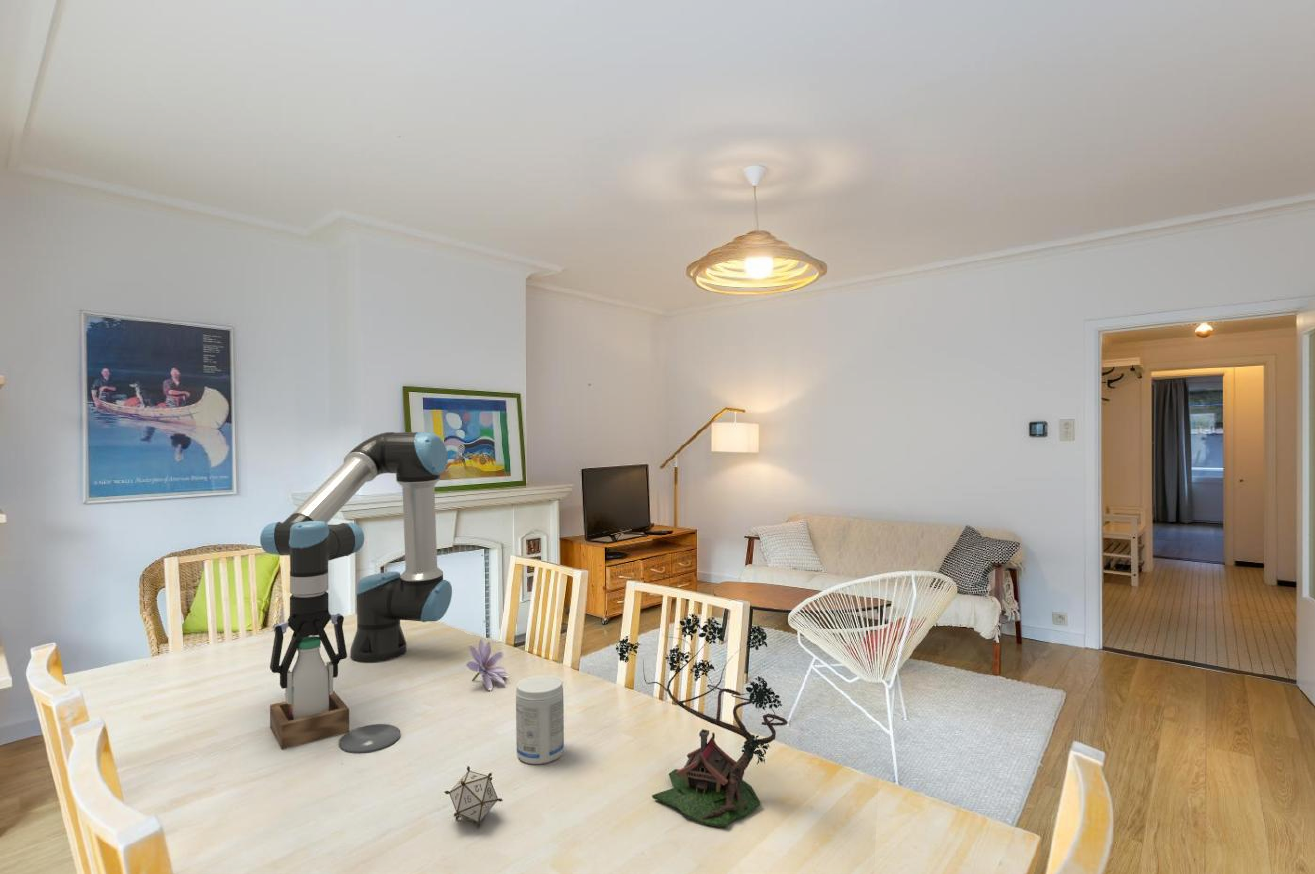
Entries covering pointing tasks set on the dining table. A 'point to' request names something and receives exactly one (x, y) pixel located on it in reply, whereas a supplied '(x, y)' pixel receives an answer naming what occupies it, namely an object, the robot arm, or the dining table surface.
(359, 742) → the slate coaster
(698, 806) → the bonsai tree
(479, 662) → the water lily
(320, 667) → the milk bottle
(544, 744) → the supplement tub
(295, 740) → the walnut pocket
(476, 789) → the game die
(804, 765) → the dining table surface
